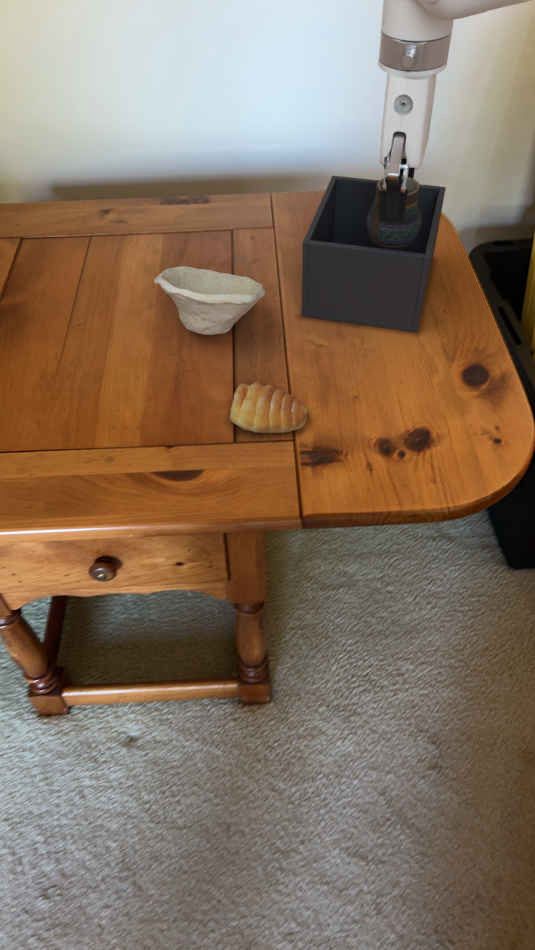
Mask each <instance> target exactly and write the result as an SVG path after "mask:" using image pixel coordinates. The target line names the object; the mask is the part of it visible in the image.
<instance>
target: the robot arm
mask: <svg viewBox="0 0 535 950" xmlns="http://www.w3.org/2000/svg"><path fill="white" fill-rule="evenodd" d="M530 1H532V0H383V3H382V13H381V27H380V39H379V50H378V60H377V61H378V62H377V65H378V67H379V69H380V70H382V72H385V73H387V74H386V83H385V93H384V100H383V101H384V103H383V113H382V123H381V136H380V150H379V151H380V153H379V163H380V164H381V166H382V167H384V166H385V169H384V175H383V178H384V181H383V187H382V188H381V197H380V207H379V216H378V217H379V219H380V220H387V221H396V222H402V221H403V220H404V216H405V209H406V201H407V194H408V190H407V189H406V184H407V178H408V177H410V178H413V179H414V177H415V170H418V169H419V168H421V166H422V165H423V162H424V158H425V154H426V151H427V147H428V143H429V138H430V130H431V122H432V116H433V106H434V100H435V93H436V86H437V85H436V84H437V76H438V75H437V74H439V73H441V72H443V71H444V70H445V69H446V68H447V66H448V61H449V52H450V47H451V40H452V35H453V28H454V21H455V20H459V19H460V20H461V19H464V18H468V17H471V16H472V17H473V16H477V15H479V14H483V13H486V12H489V11H494V10H499V9H501V8H506V7H511V6H515V5H519V4H524V3H528V2H530ZM385 164H386V165H385ZM402 176H403V178H402Z"/></svg>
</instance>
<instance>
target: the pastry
mask: <svg viewBox="0 0 535 950" xmlns="http://www.w3.org/2000/svg"><path fill="white" fill-rule="evenodd" d="M308 413H309V408H308V406H307V405H306V404H305V402H304V401H302V400H300V399H299V398H297V396H296V395H295V394H290V393H288V392H287V391H286V390H285V389H283V388H281V389H279V388H277V387H276V386H273V385H272V384H266V385H264V384H263V383H261V382H259V381H254V382H253V383H252V384H250V385H249V384H245V383H240V384H239V385H238V386H237V388H236V390H235V391H234V394H233V400H232V403H231V407H230V413H229V420H230V422H231V423H233V424H234V425H236V426H238V427H239V428H240V429H242V430H244V431H250V432H253V433H261V434H263V433H266V434H267V433H268V434H273V433H277V434H278V433H283V434H284V433H289V432H290V433H291V432H293V431H296V430H300V429H302V428H303V427H304V426H305V424H306V422H307V418H308Z"/></svg>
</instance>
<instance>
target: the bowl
mask: <svg viewBox="0 0 535 950" xmlns="http://www.w3.org/2000/svg"><path fill="white" fill-rule="evenodd" d="M153 283H154V284H156V285H158V286H159V287H160V288H161V289H162V291H163V292H164V293H165V294H166V295H168V296H169V297H170V298H171V299H172V301H173V303H174V304H175V306H176V308H177V311H178V318H179V319H180V321H181V323H182V325H183V326H184V327H185V329H186V330H188V331H190V332H193V333H196V334H200V335H204V336H213V335H223V334H226V333H227V332H229V331H230V330H231V329H232V328H233V326H234V325H235V323H237V322H238V321H239V320H240V319H241V318H242V317H243V316H245V315H246V314H247V313H248V312H249V311H250V310H251V309H252V308H253V307H254V306H255V305H256V304H257V303H258V302H259V300H260V299H261V298H262V297H264V296H265V295H266V291H265V289H264V287H263V284H261V283H259V282H257V281H255V280H254V279H252V278H251V277H248V276H243V275H242V276H241V275H236V274H231V273H228V272H227V273H224V272H218V271H214V270H211V269H203V268H202V269H201V268H196V267H191V266H185V265H182V266H181V265H180V266H175V267H168V268H166V269H164V270H163V271H162V272H161V273H160V274H158V276H157V277H155V278H154V279H153Z"/></svg>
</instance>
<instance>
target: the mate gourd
mask: <svg viewBox="0 0 535 950" xmlns="http://www.w3.org/2000/svg"><path fill="white" fill-rule="evenodd" d="M385 165H386V164H385ZM383 170H385V166H383ZM402 178H403V176H402ZM379 180H380V181H378V183H377V185H376V198H375V200H374V202H373V204H372V206H371V208H370V210H369V213H368V216H367V230H368V235H369V237H370V239H371V240H372V242H373V243H374V244H375V245H376V247H378V248H381V249H388V250H401V249H403V248H405V247H407V246H409V245H410V244H411V243H412V242H413V241H414V240H415V238H416V235H417V234H418V232H419V229H420V225H421V222H422V211H421V206H420V202H419V199H418V197H419V192H420V184H421V183H419V181H417V180H416V179H414V178H410V177H408V178H407V184H406V189H407V190H408V194H407V201H406V209H405V216H404V220H403V221H402V222H396V221H387V220H380V219H379V217H378V216H379V207H380V197H381V188H382V187H383V181H384V177H383V178H381V179H379Z"/></svg>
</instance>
